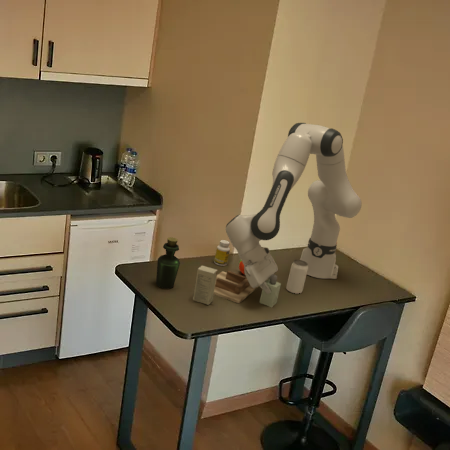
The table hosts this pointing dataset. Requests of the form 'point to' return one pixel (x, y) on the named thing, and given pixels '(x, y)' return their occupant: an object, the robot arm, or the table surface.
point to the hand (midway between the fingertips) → (272, 290)
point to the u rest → (232, 286)
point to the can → (297, 276)
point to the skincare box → (205, 285)
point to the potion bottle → (168, 265)
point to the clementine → (241, 266)
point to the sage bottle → (273, 296)
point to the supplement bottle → (222, 253)
